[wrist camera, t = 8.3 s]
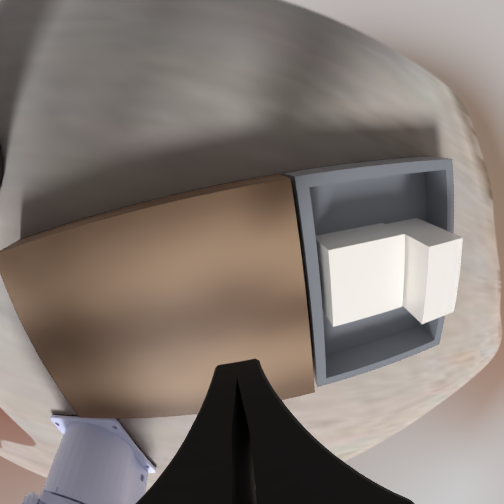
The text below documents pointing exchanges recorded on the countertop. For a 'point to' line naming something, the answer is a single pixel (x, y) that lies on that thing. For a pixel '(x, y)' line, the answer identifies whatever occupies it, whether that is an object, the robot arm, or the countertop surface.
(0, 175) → the bottle
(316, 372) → the box
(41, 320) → the walnut board
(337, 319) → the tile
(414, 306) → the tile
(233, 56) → the countertop surface
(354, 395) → the countertop surface
